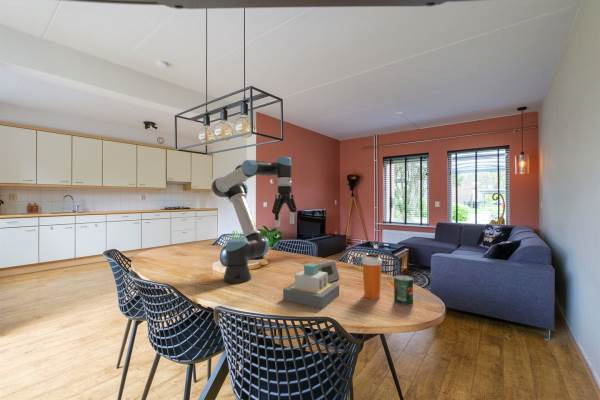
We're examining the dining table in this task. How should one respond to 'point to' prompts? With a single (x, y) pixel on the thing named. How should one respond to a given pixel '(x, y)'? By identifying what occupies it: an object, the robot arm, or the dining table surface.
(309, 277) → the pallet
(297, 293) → the dock
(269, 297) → the dining table surface
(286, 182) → the robot arm
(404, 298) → the canned tomato
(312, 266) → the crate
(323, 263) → the digital clock
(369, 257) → the shaker bottle
